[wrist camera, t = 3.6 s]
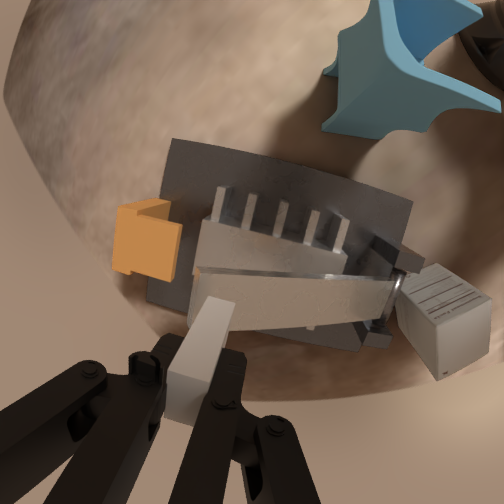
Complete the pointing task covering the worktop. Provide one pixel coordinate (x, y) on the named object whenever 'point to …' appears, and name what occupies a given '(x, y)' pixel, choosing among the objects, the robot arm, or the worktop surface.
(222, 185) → the heatsink
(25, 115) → the worktop surface
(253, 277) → the strap
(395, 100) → the vase
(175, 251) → the lug slider
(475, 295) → the supplement box
